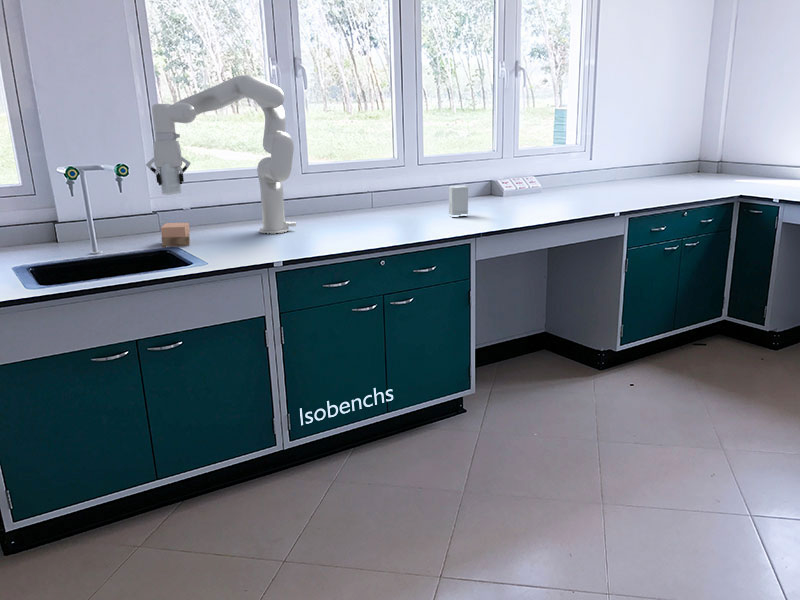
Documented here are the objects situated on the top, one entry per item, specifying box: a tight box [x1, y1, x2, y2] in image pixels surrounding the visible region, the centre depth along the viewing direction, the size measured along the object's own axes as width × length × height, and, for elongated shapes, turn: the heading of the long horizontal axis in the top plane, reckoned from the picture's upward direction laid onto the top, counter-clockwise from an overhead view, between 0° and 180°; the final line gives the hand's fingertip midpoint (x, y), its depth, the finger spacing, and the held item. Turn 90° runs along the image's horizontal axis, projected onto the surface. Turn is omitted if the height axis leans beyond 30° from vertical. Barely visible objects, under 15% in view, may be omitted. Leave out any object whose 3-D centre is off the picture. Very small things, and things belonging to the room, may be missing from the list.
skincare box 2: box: [448, 184, 469, 215], centre depth 315 cm, size 8×6×15 cm
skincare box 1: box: [159, 163, 182, 196], centre depth 254 cm, size 6×4×12 cm
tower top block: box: [160, 222, 191, 239], centre depth 260 cm, size 9×9×4 cm
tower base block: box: [161, 233, 191, 248], centre depth 261 cm, size 10×10×4 cm
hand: (170, 183), depth 255 cm, fingers closed on skincare box 1, 7 cm apart
